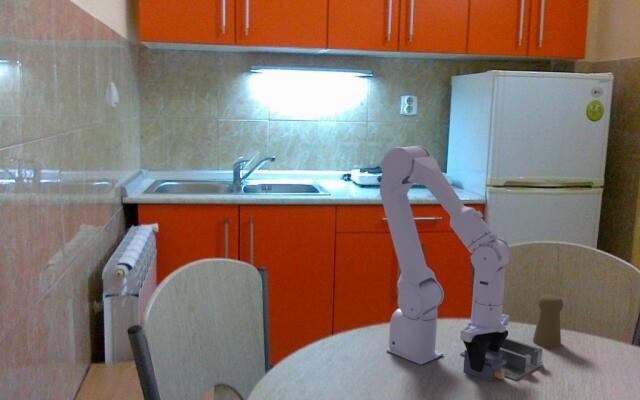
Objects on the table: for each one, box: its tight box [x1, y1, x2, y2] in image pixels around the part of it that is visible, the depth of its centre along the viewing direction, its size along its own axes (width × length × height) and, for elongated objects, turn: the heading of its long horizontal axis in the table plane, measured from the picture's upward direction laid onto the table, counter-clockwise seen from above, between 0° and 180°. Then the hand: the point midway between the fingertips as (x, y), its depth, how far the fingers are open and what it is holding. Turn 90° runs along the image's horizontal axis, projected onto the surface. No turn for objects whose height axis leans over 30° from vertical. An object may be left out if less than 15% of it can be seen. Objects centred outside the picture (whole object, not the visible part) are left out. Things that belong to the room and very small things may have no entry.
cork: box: [532, 294, 564, 349], centre depth 138 cm, size 6×6×11 cm
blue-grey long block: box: [459, 349, 507, 383], centre depth 121 cm, size 9×4×4 cm, turn 44°
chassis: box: [498, 336, 544, 381], centre depth 127 cm, size 11×11×4 cm
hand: (482, 366), depth 122 cm, fingers closed on blue-grey long block, 4 cm apart
